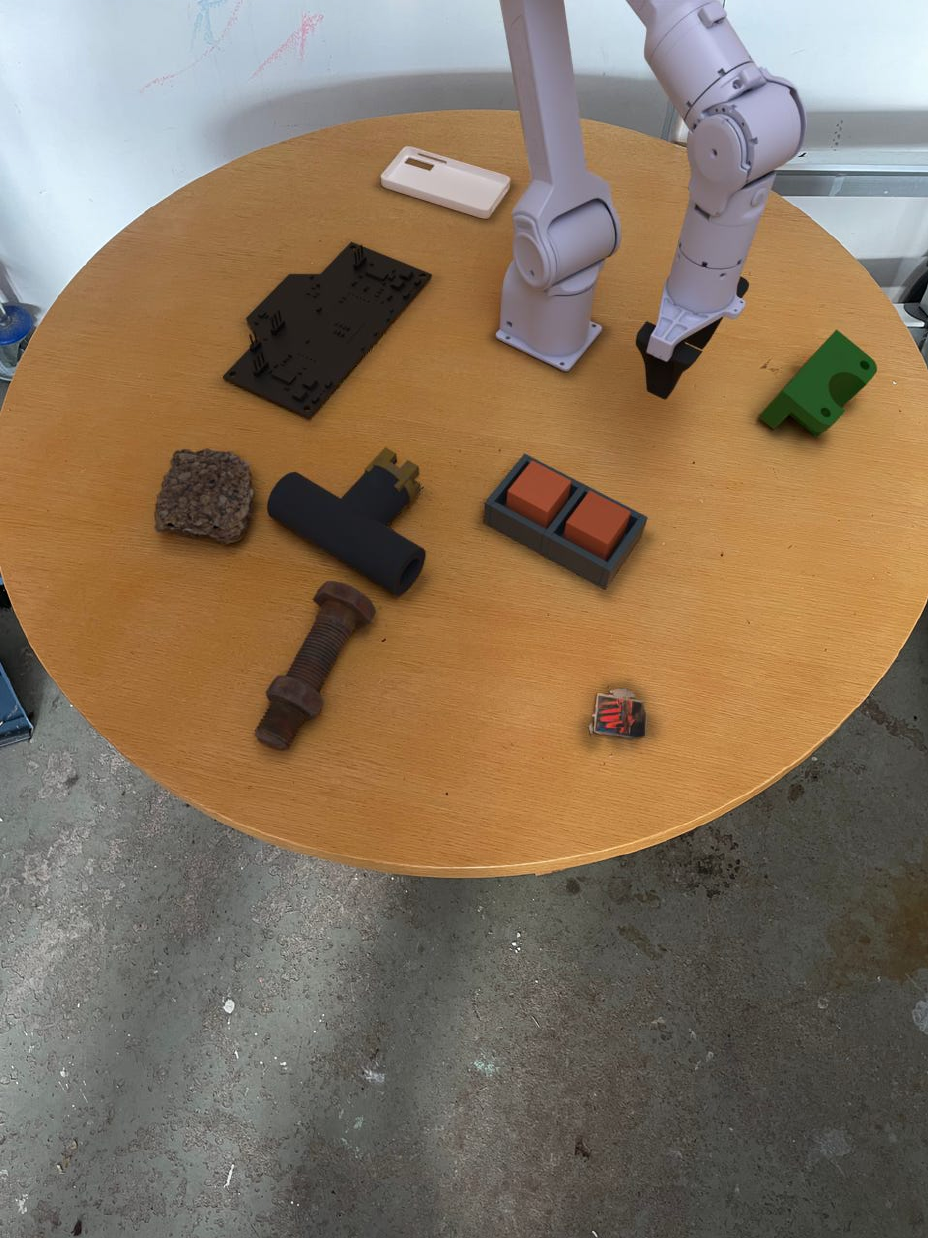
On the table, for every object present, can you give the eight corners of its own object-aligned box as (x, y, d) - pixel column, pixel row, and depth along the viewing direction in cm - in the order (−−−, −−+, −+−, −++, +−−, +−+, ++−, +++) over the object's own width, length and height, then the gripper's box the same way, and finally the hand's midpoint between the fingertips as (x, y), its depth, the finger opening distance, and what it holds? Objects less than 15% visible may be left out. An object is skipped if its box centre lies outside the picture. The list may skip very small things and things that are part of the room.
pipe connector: (340, 417, 84) (465, 489, 80) (346, 451, 89) (466, 521, 85) (261, 496, 80) (390, 576, 76) (273, 528, 85) (395, 605, 81)
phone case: (379, 186, 110) (487, 220, 107) (378, 176, 108) (487, 210, 105) (406, 154, 113) (511, 186, 110) (405, 144, 112) (512, 176, 109)
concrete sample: (245, 564, 83) (233, 534, 78) (144, 547, 83) (126, 517, 79) (279, 470, 88) (269, 437, 84) (184, 455, 89) (169, 422, 84)
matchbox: (650, 737, 74) (651, 735, 74) (591, 743, 74) (592, 741, 74) (639, 687, 77) (640, 685, 76) (582, 693, 76) (583, 691, 76)
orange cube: (505, 518, 85) (507, 490, 81) (528, 488, 87) (531, 459, 83) (543, 539, 84) (547, 512, 80) (566, 508, 85) (571, 480, 81)
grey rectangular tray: (483, 523, 85) (484, 502, 82) (522, 474, 88) (524, 452, 85) (605, 590, 81) (610, 571, 78) (641, 537, 84) (648, 516, 81)
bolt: (270, 755, 75) (347, 613, 81) (310, 765, 72) (386, 617, 78) (227, 723, 71) (310, 576, 77) (267, 732, 68) (351, 579, 74)
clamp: (789, 463, 94) (817, 443, 85) (747, 427, 95) (770, 404, 86) (864, 380, 94) (899, 351, 85) (821, 344, 94) (852, 312, 85)
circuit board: (310, 421, 91) (305, 401, 88) (201, 370, 94) (194, 349, 92) (431, 279, 101) (431, 257, 99) (330, 238, 105) (327, 216, 102)
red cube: (560, 549, 83) (566, 522, 79) (583, 517, 85) (589, 489, 81) (600, 570, 82) (608, 544, 78) (623, 538, 84) (631, 511, 80)
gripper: (719, 317, 66) (679, 435, 78) (795, 215, 72) (747, 339, 84) (638, 281, 68) (611, 402, 80) (718, 184, 74) (682, 310, 86)
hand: (676, 368), depth 82 cm, fingers open, 7 cm apart
